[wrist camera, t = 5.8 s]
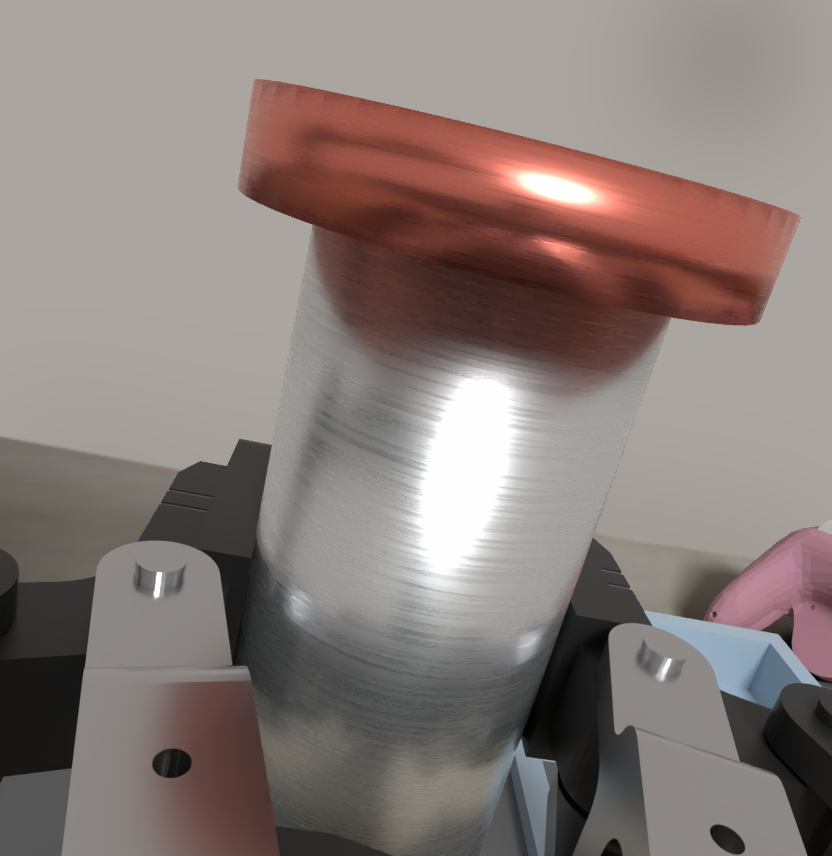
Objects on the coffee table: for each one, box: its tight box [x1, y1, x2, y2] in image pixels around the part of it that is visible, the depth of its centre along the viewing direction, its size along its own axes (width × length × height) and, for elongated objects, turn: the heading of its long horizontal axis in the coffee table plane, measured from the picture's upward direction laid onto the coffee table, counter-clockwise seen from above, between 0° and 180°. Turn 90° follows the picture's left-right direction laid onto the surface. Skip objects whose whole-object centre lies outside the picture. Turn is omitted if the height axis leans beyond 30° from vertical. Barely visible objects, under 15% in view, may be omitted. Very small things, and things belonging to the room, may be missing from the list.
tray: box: [510, 610, 821, 856], centre depth 19 cm, size 10×10×2 cm
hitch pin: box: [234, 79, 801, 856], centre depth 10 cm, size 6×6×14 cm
